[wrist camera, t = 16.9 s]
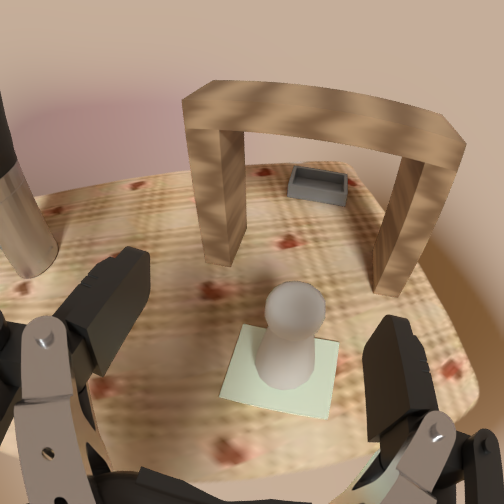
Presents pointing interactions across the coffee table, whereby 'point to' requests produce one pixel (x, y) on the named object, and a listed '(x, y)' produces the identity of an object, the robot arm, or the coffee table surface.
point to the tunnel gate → (325, 129)
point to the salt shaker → (290, 335)
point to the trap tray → (318, 185)
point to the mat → (288, 401)
